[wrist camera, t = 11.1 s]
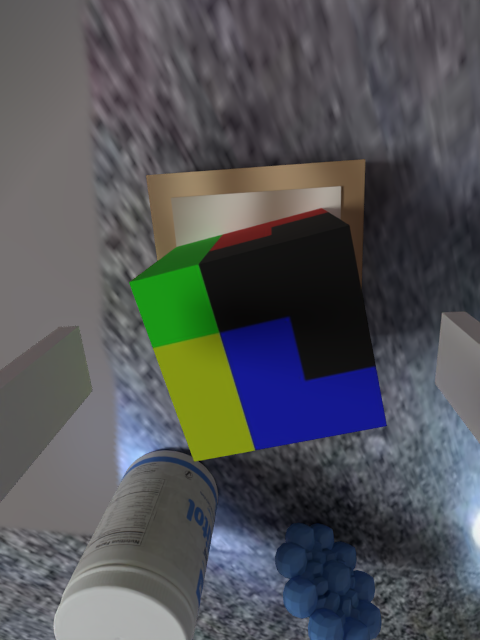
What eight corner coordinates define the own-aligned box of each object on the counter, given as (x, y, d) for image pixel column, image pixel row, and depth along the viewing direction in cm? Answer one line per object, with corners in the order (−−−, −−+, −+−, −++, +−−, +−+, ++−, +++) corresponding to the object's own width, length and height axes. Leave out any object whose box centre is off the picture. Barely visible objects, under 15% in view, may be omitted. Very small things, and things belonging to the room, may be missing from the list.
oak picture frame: (351, 161, 30) (366, 159, 26) (347, 339, 35) (360, 364, 30) (163, 175, 32) (145, 175, 27) (184, 345, 36) (171, 370, 31)
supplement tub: (235, 507, 42) (217, 673, 28) (153, 534, 43) (99, 702, 30) (190, 431, 39) (146, 572, 25) (106, 463, 41) (21, 610, 27)
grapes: (248, 521, 42) (240, 648, 31) (293, 481, 40) (302, 601, 29) (333, 580, 44) (355, 721, 32) (380, 544, 42) (420, 681, 31)
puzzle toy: (349, 346, 30) (386, 426, 20) (217, 375, 31) (194, 461, 22) (321, 207, 27) (349, 224, 17) (176, 246, 28) (129, 282, 19)
